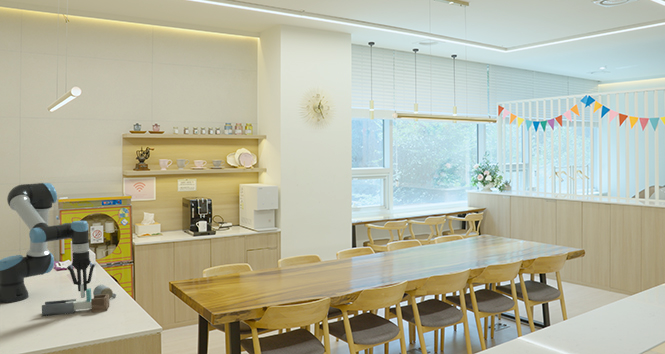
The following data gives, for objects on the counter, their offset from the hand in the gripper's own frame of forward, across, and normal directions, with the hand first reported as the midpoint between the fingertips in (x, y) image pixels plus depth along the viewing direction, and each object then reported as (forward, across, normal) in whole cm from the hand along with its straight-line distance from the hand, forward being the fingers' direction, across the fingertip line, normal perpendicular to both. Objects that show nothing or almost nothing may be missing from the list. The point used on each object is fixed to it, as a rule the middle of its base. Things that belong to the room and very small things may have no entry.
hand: (83, 297), depth 247 cm
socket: (+7, +8, 0) cm, 11 cm away
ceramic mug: (+7, +8, +18) cm, 21 cm away
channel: (+7, -11, 0) cm, 13 cm away
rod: (+6, +1, 0) cm, 6 cm away
